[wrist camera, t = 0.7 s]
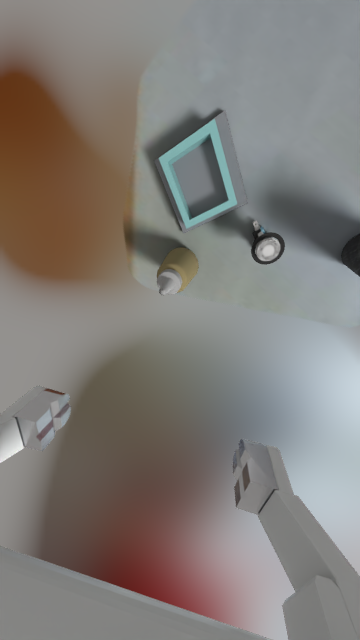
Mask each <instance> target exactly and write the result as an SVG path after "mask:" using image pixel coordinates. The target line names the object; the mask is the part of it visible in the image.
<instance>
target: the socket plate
mask: <svg viewBox="0 0 360 640" xmlns="http://www.w3.org/2000/svg"><path fill="white" fill-rule="evenodd" d="M154 162H155V165H156V167H157V169H158V172H159V174H160V177H161V179H162V182H163V184H164V187H165V189H166V192H167V194H168V196H169V199H170V201H171V204H172V206H173V209H174V211H175V214H176V216H177V219H178V221H179V224H180V226H181V228H182V231H183V233H186V232H188V231H190V230H192V229H194V228H196V227H198V226H200V225H203V224H205V223H207V222H209V221H211V220H213V219H215V218H217V217H219V216H222V215H224V214H226V213H228V212H230V211H232V210H234V209H236V208H238V207H241V206H243V205H245V204H247V203H248V202H247V198H246V194H245V190H244V186H243V182H242V177H241V173H240V169H239V165H238V161H237V157H236V153H235V148H234V144H233V140H232V136H231V132H230V128H229V124H228V119H227V115H226V111H223V112H222V113H221V114H219V115H218V116H216V117H215V118H214V119H212V120H211V121H209V122H208V123H207V124H205V125H204V126H202V127H201V128H200V129H198V130H197V131H195V132H194V133H192V134H191V135H190V136H188V137H187V138H185V139H184V140H183V141H181V142H180V143H178V144H177V145H176V146H174V147H173V148H171V149H170V150H169V151H167V152H166V153H164V154H163V155H161V156H160V157H159V158H157V159H156V160H154Z"/></svg>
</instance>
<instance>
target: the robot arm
mask: <svg viewBox="0 0 360 640" xmlns="http://www.w3.org/2000/svg"><path fill="white" fill-rule="evenodd" d="M69 399H70V398H69V394H66V393H62V392H59V391H55V390H52V389H48V388H45V387H41V386H36V387H34V388H32V389H31V390H30V391H29V392H27V393H26V394H25V395H24V396H22V397H21V398H20V399H19V400H18V401H16V402H15V403H14V404H12V405H11V406H10V407H9V408H7V409H6V410H5V411H4V412H3V413H0V463H1V462H2V461H4V460H6V459H7V458H9V457H10V456H12V455H14V454H15V453H17V452H18V451H20V450H21V449H23V448H24V447H27V448H31V449H35V450H39V451H43V450H44V449H45V448H46V447H47V445H48V444H49V443H50V442H51V440H52V439H53V438H54V437H55V431H56V430H58V429H60V428H62V427H63V426H64V424H65V423H66V422H67V420H68V418H69V416H70V412H71V406H70V405H69V404H68V401H69ZM233 475H234V477H235V479H236V480H237V482H236V485H235V487H234V490H235V501H236V508H239V509H242V510H245V511H248V512H251V513H254V514H257V515H258V517H259V520H260V522H261V523H262V526H263V528H264V530H265V532H266V534H267V536H268V538H269V540H270V542H271V543H272V546H273V547H274V549H275V552H276V553H277V555H278V557H279V559H280V562H281V564H282V565H283V567H284V570H285V572H286V574H287V576H288V578H289V580H290V582H291V584H292V586H293V588H294V590H295V593H294V594H293V595H291V596H290V597H289V598H288V599H286V600H285V602H284V604H283V605H282V607H283V612H284V618H285V623H286V629H287V634H288V639H289V640H360V576H359V575H358V573H357V572H356V571H355V569H354V568H353V567H352V566H351V564H350V563H349V562H348V560H347V559H346V558H345V556H344V555H343V554H342V553H341V551H340V550H339V549H338V547H337V546H336V545H335V543H334V542H333V541H332V540H331V538H330V537H329V536H328V534H327V533H326V532H325V530H324V529H323V528H322V527H321V525H320V524H319V523H318V521H317V520H316V519H315V517H314V516H313V515H312V514H311V512H310V511H309V510H308V508H307V507H306V506H305V504H304V503H303V502H302V501H301V499H300V498H299V497H298V496H296V495H294V493H293V490H292V487H291V484H290V481H289V478H288V475H287V472H286V469H285V466H284V463H283V460H282V457H281V454H280V451H279V449H278V448H276V447H272V446H268V445H265V444H262V443H258V442H254V441H249V440H245V439H241V440H240V441H239V449H237V450H236V451H235V453H234V457H233ZM0 640H271V639H268V638H266V637H263V636H260V635H257V634H254V633H251V632H249V631H246V630H243V629H240V628H237V627H234V626H231V625H228V624H225V623H222V622H220V621H217V620H214V619H211V618H208V617H205V616H202V615H199V614H196V613H193V612H191V611H188V610H185V609H182V608H179V607H176V606H173V605H170V604H167V603H165V602H161V601H159V600H156V599H153V598H150V597H147V596H144V595H141V594H138V593H135V592H133V591H130V590H127V589H124V588H121V587H118V586H115V585H112V584H109V583H107V582H104V581H101V580H98V579H95V578H92V577H89V576H86V575H83V574H80V573H78V572H74V571H72V570H69V569H66V568H63V567H60V566H57V565H54V564H52V563H49V562H45V561H43V560H40V559H37V558H34V557H31V556H28V555H25V554H23V553H19V552H17V551H13V550H11V549H8V548H5V547H2V546H0Z"/></svg>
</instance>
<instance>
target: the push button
mask: <svg viewBox="0 0 360 640" xmlns="http://www.w3.org/2000/svg"><path fill="white" fill-rule="evenodd" d="M255 223H256V225H255ZM253 225H254V229H255V231H254V232H253V235H254V238H255V240H254V243H253V245H252V249H251V253H252V257H253V259H254V260H255V261H256V262H258V263H260V264H270V263H273V262H275V261H276V260H278V259H279V258H280V257H281V255H282V254H283V252H284V248H285V244H284V240H283V238H282V237H281V236H280V235H278V234H276V233H265V231H264V228H263V227H260V226H259V225H258V223H257V221H254V222H253ZM273 237H275V238H277V239H278V240H276V239H274V238H273ZM278 241H279V242H278ZM255 247H256V254H255Z"/></svg>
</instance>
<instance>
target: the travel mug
mask: <svg viewBox="0 0 360 640" xmlns="http://www.w3.org/2000/svg"><path fill="white" fill-rule="evenodd" d="M342 261H343V263H344V264H345V265H346V266H347V267H348V268H350V269H351V270H352V271H353V272H355V273H356V274H357V275H358V276H360V234H359V235H357V236H355V237H354V238H352V239H351V240H350V241H349V242H348V243H347V244H346V246H345V247H344V249H343V251H342Z"/></svg>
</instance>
